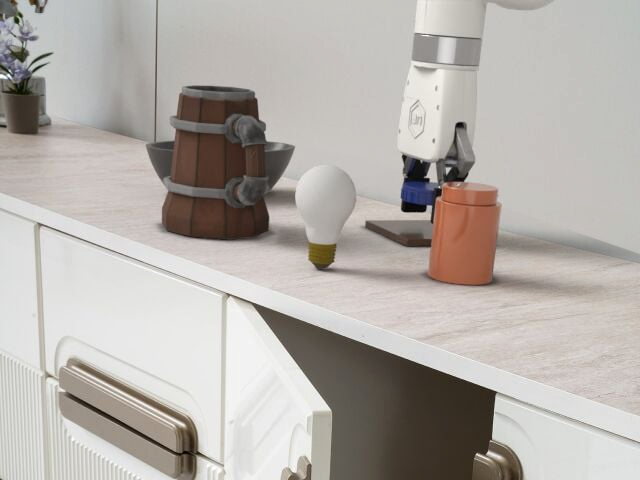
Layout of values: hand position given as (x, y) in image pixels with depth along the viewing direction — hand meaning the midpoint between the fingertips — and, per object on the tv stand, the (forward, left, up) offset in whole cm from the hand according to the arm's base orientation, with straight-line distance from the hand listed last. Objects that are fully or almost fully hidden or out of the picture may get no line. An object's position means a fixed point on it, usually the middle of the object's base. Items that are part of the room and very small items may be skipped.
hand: (428, 216), depth 131 cm
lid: (0, 0, +3) cm, 3 cm away
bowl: (+16, -28, -2) cm, 32 cm away
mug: (+24, -3, -2) cm, 24 cm away
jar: (+7, +20, -2) cm, 21 cm away
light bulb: (+20, +15, -2) cm, 25 cm away
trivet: (0, 0, -2) cm, 2 cm away
